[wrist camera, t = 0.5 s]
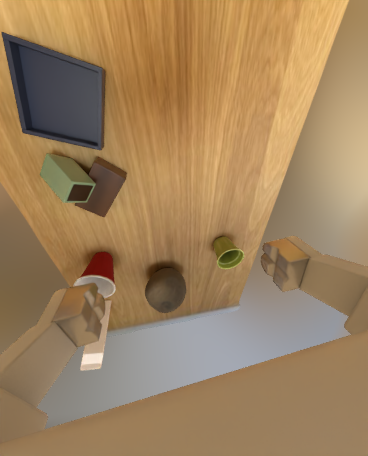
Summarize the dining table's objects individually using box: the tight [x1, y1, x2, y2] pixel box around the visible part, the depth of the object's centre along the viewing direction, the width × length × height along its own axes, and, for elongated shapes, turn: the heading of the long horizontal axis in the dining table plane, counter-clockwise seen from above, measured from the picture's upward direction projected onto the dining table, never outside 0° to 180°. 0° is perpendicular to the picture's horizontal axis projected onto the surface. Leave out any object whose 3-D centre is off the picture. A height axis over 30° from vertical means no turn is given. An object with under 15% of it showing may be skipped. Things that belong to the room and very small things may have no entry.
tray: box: [2, 32, 105, 150], centre depth 32 cm, size 13×13×3 cm
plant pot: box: [214, 236, 244, 269], centre depth 61 cm, size 9×9×9 cm
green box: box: [40, 153, 96, 203], centre depth 37 cm, size 10×5×10 cm, turn 53°
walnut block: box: [75, 157, 127, 217], centre depth 42 cm, size 7×12×4 cm, turn 143°
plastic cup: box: [74, 252, 116, 298], centre depth 53 cm, size 11×11×12 cm
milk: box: [80, 300, 111, 370], centre depth 63 cm, size 6×6×22 cm
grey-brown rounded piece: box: [145, 268, 186, 313], centre depth 62 cm, size 14×14×15 cm
